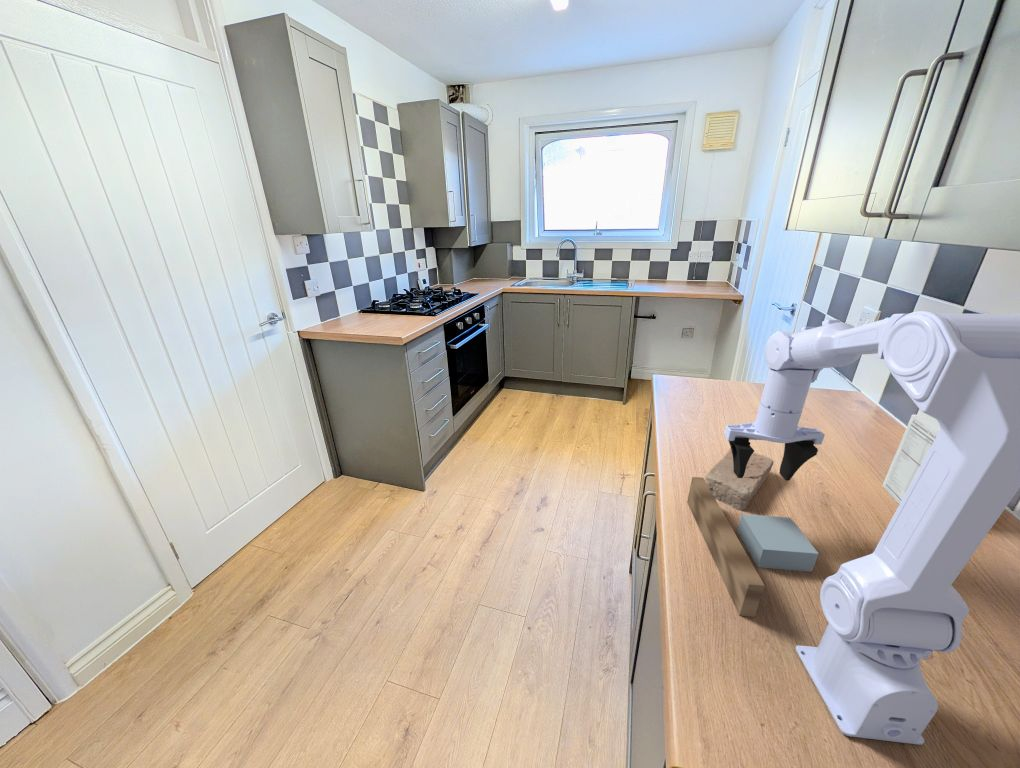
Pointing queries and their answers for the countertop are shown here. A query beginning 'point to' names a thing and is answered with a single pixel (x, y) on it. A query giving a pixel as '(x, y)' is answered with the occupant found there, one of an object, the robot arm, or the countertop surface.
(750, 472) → the brick
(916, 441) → the supplement box
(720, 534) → the fence board
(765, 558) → the grey block
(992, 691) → the countertop surface
